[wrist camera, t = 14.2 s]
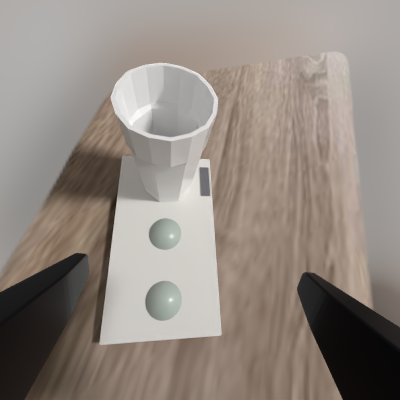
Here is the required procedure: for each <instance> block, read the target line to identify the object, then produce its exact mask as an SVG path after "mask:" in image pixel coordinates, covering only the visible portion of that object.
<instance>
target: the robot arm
mask: <svg viewBox="0 0 400 400" xmlns="http://www.w3.org/2000/svg"><path fill="white" fill-rule="evenodd" d="M88 274H89V263H88V255H87V254H82V253H75V254H73V255H71V256H69V257H67V258H65V259H63V260H62V261H60V262H58V263H56V264H54V265H52V266H50V267H48V268H46V269H44V270H42V271H40V272H38V273H36V274H34V275H33V276H31V277H29V278H27V279H25V280H23V281H21V282H19V283H17V284H15V285H13V286H11V287H9V288H7V289H6V290H4V291H2V292H0V400H24V399H25V398H26V396H27V394H28V392H29V390H30V389H31V387H32V385H33V383H34V381H35V380H36V378H37V376H38V374H39V372H40V371H41V369H42V367H43V365H44V363H45V362H46V360H47V358H48V356H49V354H50V353H51V351H52V349H53V347H54V345H55V344H56V342H57V340H58V338H59V336H60V335H61V333H62V331H63V329H64V328H65V326H66V324H67V322H68V320H69V318H70V316H71V315H72V312H73V310H74V308H75V306H76V303H77V301H78V299H79V296H80V294H81V292H82V289H83V287H84V284H85V282H86V280H87V277H88ZM297 291H298V295H299V298H300V301H301V303H302V306H303V309H304V312H305V315H306V318H307V320H308V323H309V326H310V328H311V331H312V333H313V335H314V338H315V340H316V342H317V344H318V346H319V348H320V351H321V353H322V355H323V357H324V359H325V362H326V364H327V366H328V368H329V370H330V373H331V375H332V377H333V379H334V381H335V384H336V386H337V388H338V390H339V392H340V395H341V397H342V399H343V400H400V327H398V326H397V325H395V324H394V323H392V322H390V321H389V320H387V319H386V318H384V317H383V316H381V315H379V314H378V313H376V312H375V311H373V310H372V309H370V308H368V307H367V306H365V305H364V304H362V303H361V302H359V301H357V300H356V299H354V298H353V297H351V296H349V295H348V294H346V293H345V292H343V291H342V290H340V289H338V288H337V287H335V286H334V285H332V284H331V283H329V282H327V281H326V280H324V279H323V278H321V277H320V276H318V275H316V274H315V273H309V272H305V273H303V274H302V276H301V279H300V282H299V284H298V287H297Z"/></svg>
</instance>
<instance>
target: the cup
mask: <svg viewBox="0 0 400 400" xmlns="http://www.w3.org/2000/svg"><path fill="white" fill-rule="evenodd" d="M110 98H111V101H112V104H113V107H114V110H115V114H116V116H117V119H118V122H119V124H120V127H121V130H122V133H123V135H124V138H125V141H126V143H127V146H128V147H129V148H130V149H131V151H132V154H133V157H134V160H135V162H136V165H137V168H138V170H139V173H140V176H141V179H142V181H143V184H144V187H145V191H146V192H148V193H149V194H150V195H151V196H153V197H154V198H155V199H157V200H158V201H159V202H168V201H179V200H180V199H181V198H182V197H183V196H184V195H185V194H186V192H187V191H188V190H189V189H190V188H191V184H192V181H193V178H194V175H195V172H196V169H197V166H198V163H199V160H200V157H201V154H202V151H203V149H204V148H205V146H206V144H207V141H208V138H209V135H210V132H211V129H212V126H213V123H214V120H215V117H216V114H217V106H218V98H217V96H216V94H215V92H214V90H213V89H212V87H211V85H210V84H209V83H208V82H207V81H206V80H205V79H204V78H203V77H202V76H201V75H200V74H199V73H196V72H194V71H192V70H189V69H186V68H184V67H182V66H178V65H173V64H167V63H156V64H147V65H143V66H140V67H138V68H134V69H132V70H129V71H127V72H126V73H125V74H124V75H123V76H122V77H121V78H120V79H119V80H118V82H117V83H116V84H115V87H114V90H113V92H112V95H111V97H110Z"/></svg>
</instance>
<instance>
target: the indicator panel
mask: <svg viewBox="0 0 400 400" xmlns="http://www.w3.org/2000/svg"><path fill="white" fill-rule="evenodd" d="M221 335H222V334H221V320H220V306H219V291H218V277H217V262H216V248H215V234H214V219H213V205H212V191H211V176H210V162H209V160H208V159H200V160H199V163H198V166H197V169H196V172H195V175H194V178H193V181H192V184H191V188H190V189H189V190H188V191H187V192H186V194H185V195H184V196H183V197H182V198H181V199H180V200H179V201H168V202H159V201H158V200H157V199H155V198H154V197H153V196H151V195H150V194H149V193H148V192H146V191H145V187H144V184H143V181H142V179H141V176H140V173H139V170H138V168H137V165H136V162H135V160H134V157H133V156H122V163H121V171H120V179H119V187H118V196H117V204H116V212H115V220H114V228H113V237H112V245H111V253H110V261H109V269H108V278H107V286H106V294H105V302H104V311H103V319H102V327H101V335H100V343H99V345H105V344H118V343H131V342H143V341H156V340H169V339H182V338H195V337H208V336H221Z"/></svg>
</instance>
